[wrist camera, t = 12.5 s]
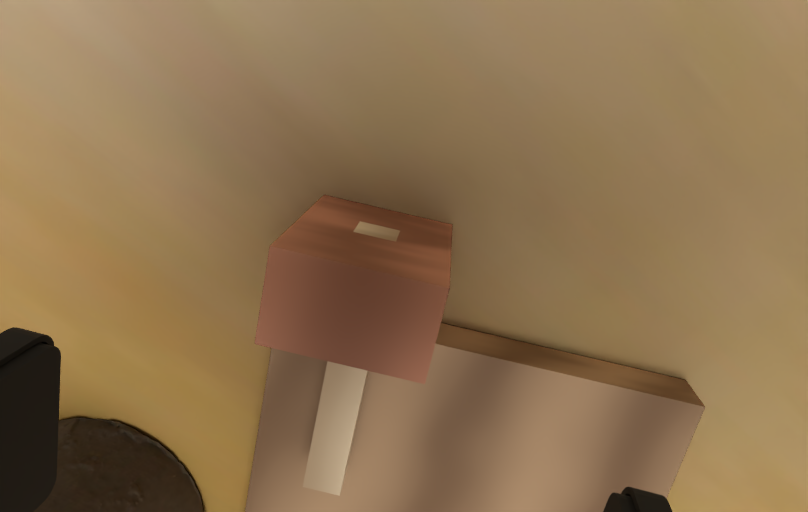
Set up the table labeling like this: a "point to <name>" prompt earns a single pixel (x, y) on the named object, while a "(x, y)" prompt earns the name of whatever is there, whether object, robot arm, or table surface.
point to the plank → (479, 432)
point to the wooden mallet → (354, 310)
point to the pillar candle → (116, 472)
